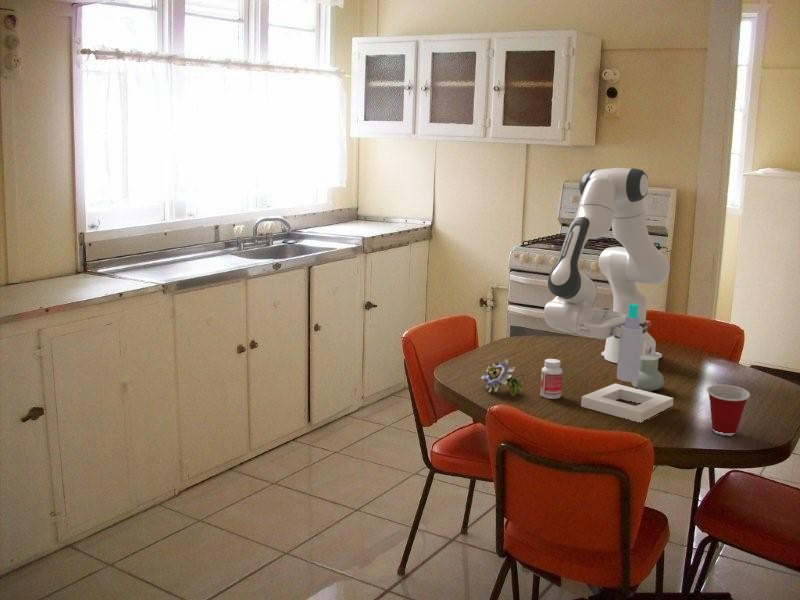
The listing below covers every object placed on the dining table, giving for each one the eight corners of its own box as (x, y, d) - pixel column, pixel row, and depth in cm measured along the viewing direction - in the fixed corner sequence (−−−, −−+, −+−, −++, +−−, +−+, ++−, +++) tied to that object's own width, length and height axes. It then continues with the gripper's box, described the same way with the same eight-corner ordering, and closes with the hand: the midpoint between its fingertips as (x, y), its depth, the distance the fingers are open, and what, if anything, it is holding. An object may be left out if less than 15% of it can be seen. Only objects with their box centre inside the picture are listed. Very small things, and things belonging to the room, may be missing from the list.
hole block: (614, 392, 267) (615, 383, 266) (672, 407, 254) (673, 397, 253) (580, 406, 253) (581, 396, 253) (640, 422, 240) (641, 412, 240)
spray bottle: (630, 383, 247) (636, 307, 243) (612, 378, 252) (618, 304, 247) (642, 379, 251) (648, 305, 247) (624, 374, 256) (630, 301, 251)
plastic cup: (701, 436, 231) (706, 393, 229) (703, 423, 241) (707, 382, 239) (745, 443, 227) (750, 399, 225) (745, 429, 237) (750, 387, 235)
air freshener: (665, 394, 267) (668, 362, 265) (638, 394, 266) (641, 362, 264) (652, 383, 278) (655, 353, 276) (627, 383, 277) (630, 352, 275)
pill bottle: (565, 397, 261) (567, 361, 259) (550, 400, 258) (552, 364, 255) (550, 391, 266) (553, 356, 264) (535, 394, 263) (537, 359, 261)
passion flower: (490, 409, 265) (471, 375, 267) (514, 397, 271) (496, 363, 273) (511, 398, 256) (491, 362, 258) (535, 385, 262) (516, 350, 264)
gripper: (575, 317, 250) (618, 326, 240) (611, 307, 264) (653, 315, 255) (573, 338, 251) (616, 348, 242) (610, 327, 265) (651, 336, 256)
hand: (635, 331), depth 248 cm, fingers closed on spray bottle, 4 cm apart
